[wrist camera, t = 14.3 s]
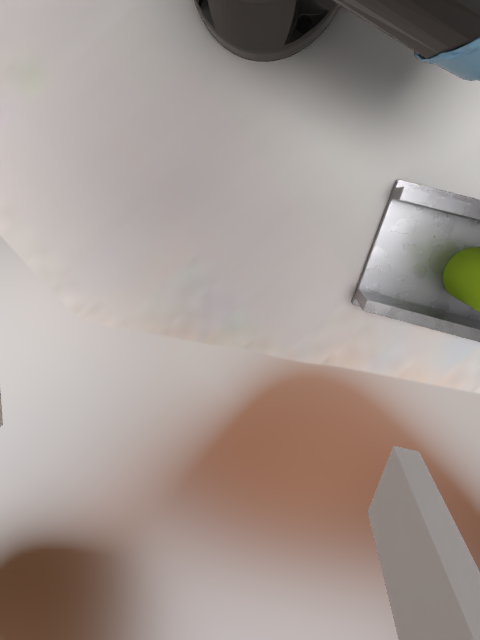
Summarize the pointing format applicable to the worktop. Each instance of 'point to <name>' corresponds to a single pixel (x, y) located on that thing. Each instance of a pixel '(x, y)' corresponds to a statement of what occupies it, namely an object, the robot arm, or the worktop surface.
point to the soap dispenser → (464, 277)
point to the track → (420, 259)
